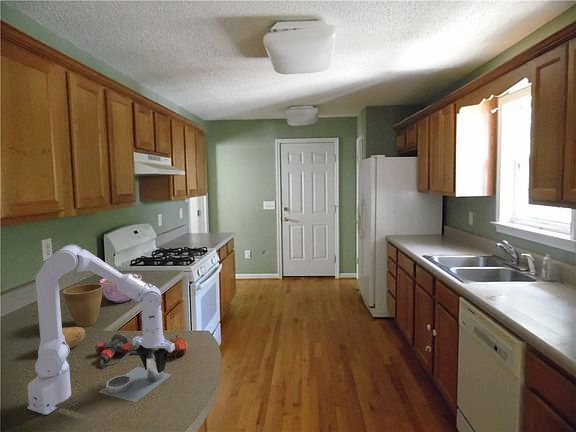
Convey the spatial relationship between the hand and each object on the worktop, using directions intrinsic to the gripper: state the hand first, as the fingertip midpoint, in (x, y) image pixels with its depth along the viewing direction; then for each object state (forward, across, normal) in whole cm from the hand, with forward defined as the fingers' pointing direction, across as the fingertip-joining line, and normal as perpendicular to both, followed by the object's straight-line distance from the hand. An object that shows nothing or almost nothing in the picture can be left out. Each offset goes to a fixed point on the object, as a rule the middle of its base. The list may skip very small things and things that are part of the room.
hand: (154, 369), depth 108 cm
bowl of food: (+4, +72, -55) cm, 91 cm away
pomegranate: (+4, +4, -14) cm, 15 cm away
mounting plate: (+4, +4, +4) cm, 6 cm away
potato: (+4, +48, -6) cm, 48 cm away
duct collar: (+4, +6, +8) cm, 11 cm away
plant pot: (+4, +62, -26) cm, 67 cm away
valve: (+4, +20, -8) cm, 22 cm away
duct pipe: (+3, 0, 0) cm, 3 cm away
